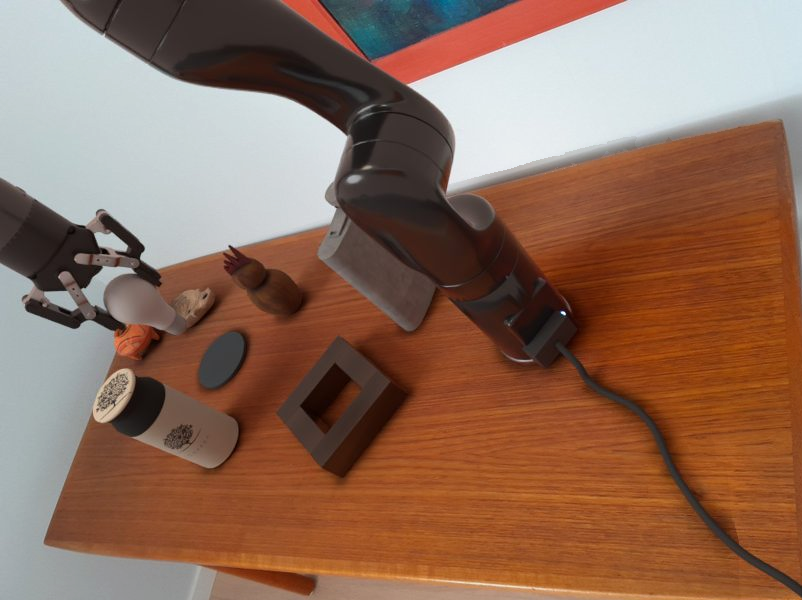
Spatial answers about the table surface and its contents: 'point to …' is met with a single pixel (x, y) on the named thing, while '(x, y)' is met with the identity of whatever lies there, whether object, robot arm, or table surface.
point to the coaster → (222, 360)
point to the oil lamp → (193, 304)
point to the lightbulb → (141, 304)
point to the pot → (133, 339)
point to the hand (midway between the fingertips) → (140, 303)
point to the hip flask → (375, 270)
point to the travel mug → (165, 418)
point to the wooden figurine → (263, 284)
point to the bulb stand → (358, 420)
